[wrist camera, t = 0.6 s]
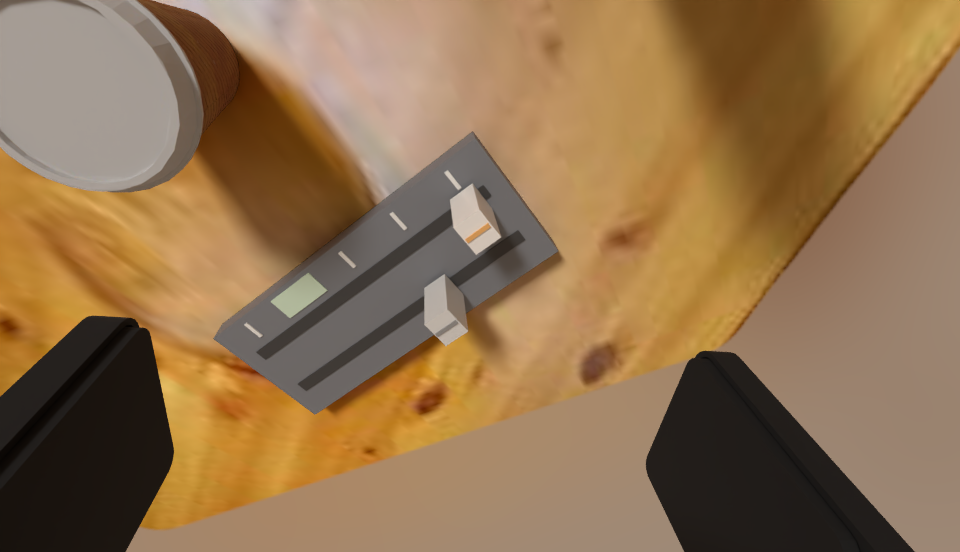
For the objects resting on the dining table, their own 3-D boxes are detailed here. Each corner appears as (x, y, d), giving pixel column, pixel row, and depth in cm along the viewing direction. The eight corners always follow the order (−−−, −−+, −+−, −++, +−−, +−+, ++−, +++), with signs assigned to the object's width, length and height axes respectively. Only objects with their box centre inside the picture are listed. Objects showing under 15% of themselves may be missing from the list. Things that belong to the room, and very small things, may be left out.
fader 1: (444, 273, 38) (447, 309, 33) (463, 294, 39) (468, 332, 35) (424, 287, 38) (424, 325, 34) (443, 307, 39) (445, 346, 35)
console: (472, 131, 35) (475, 138, 33) (552, 240, 40) (558, 251, 38) (222, 324, 41) (212, 339, 39) (319, 398, 46) (314, 415, 44)
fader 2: (472, 183, 35) (479, 210, 30) (491, 208, 36) (501, 237, 31) (449, 199, 35) (453, 228, 31) (469, 224, 36) (476, 255, 32)
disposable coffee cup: (286, 125, 34) (226, 182, 23) (148, 150, 34) (26, 217, 23) (231, -37, 29) (124, -57, 19) (70, -9, 29) (-128, -14, 19)
